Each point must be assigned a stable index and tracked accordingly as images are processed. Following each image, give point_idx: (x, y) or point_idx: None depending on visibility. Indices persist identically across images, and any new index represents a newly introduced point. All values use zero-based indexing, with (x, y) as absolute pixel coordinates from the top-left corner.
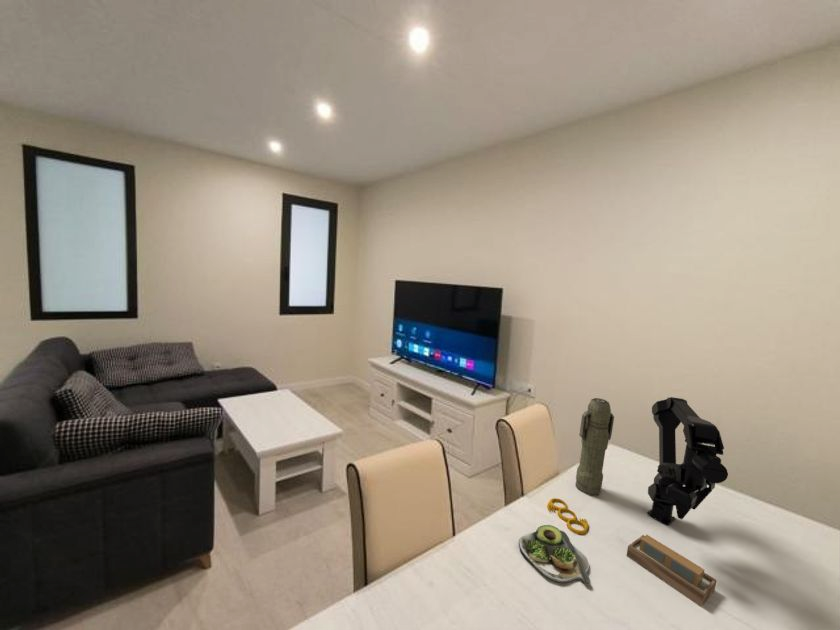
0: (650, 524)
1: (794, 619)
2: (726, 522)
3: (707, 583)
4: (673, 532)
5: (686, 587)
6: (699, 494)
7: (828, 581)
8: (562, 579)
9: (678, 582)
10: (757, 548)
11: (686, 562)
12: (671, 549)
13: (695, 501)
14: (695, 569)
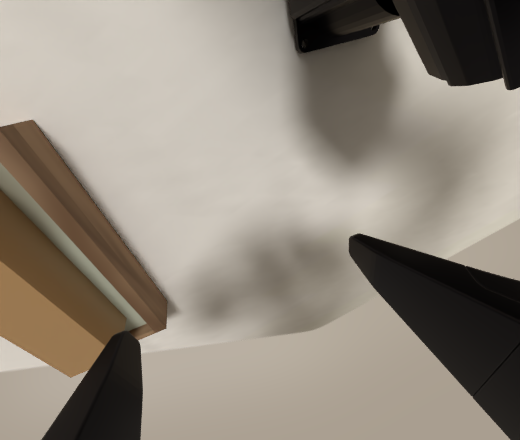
0: (223, 7)
1: (265, 333)
2: (485, 112)
3: (137, 322)
4: (281, 97)
5: None
6: (492, 380)
7: None
8: None
9: None
10: (420, 205)
11: (63, 344)
12: (43, 295)
13: (402, 295)
14: (77, 362)
